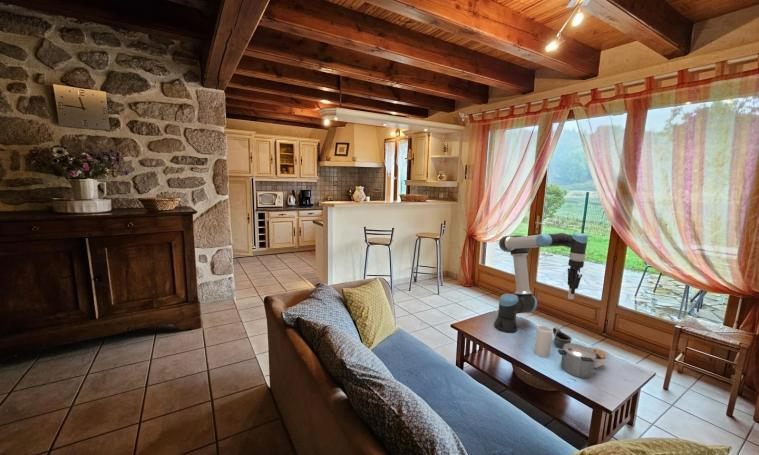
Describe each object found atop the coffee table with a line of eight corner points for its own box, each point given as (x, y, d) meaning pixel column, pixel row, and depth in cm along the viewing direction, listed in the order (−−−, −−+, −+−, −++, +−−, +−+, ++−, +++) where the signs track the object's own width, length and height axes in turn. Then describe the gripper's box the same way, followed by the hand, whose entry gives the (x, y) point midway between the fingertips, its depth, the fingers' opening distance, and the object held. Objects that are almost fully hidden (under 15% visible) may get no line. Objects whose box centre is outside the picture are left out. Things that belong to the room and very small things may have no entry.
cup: (551, 358, 188) (554, 332, 185) (536, 356, 189) (539, 330, 187) (546, 350, 196) (550, 326, 193) (532, 348, 197) (535, 324, 195)
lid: (558, 343, 184) (558, 340, 184) (587, 346, 182) (587, 343, 182) (572, 360, 167) (572, 357, 167) (604, 364, 165) (604, 361, 165)
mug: (563, 351, 195) (565, 336, 194) (545, 341, 207) (547, 327, 205) (573, 349, 199) (576, 334, 198) (555, 339, 211) (557, 325, 209)
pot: (550, 358, 187) (552, 342, 185) (588, 363, 184) (591, 346, 183) (562, 375, 171) (565, 357, 169) (603, 380, 169) (607, 362, 167)
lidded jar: (577, 361, 186) (579, 346, 184) (589, 358, 190) (591, 343, 188) (595, 372, 176) (598, 356, 174) (608, 368, 180) (610, 352, 179)
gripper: (564, 256, 192) (559, 294, 196) (574, 262, 179) (568, 302, 183) (578, 257, 191) (572, 295, 195) (589, 263, 179) (582, 303, 182)
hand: (570, 298), depth 189 cm, fingers closed
